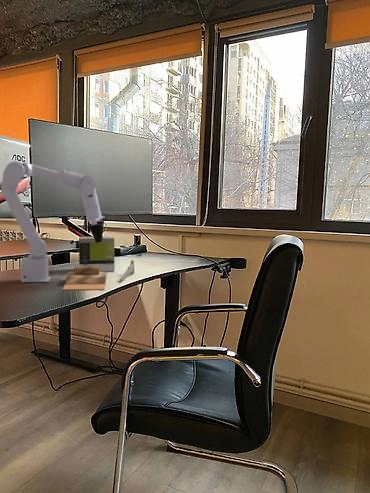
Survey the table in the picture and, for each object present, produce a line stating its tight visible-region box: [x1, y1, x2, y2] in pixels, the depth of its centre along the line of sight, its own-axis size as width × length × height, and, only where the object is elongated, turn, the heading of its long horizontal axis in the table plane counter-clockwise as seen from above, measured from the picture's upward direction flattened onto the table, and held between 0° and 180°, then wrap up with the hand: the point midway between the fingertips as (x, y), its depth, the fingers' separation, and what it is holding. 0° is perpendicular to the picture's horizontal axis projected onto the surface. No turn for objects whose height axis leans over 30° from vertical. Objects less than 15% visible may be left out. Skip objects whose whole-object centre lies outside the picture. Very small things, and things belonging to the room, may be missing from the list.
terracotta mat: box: [61, 283, 106, 291], centre depth 139 cm, size 14×9×1 cm, turn 99°
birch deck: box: [65, 271, 107, 285], centre depth 148 cm, size 14×10×3 cm
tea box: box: [78, 236, 115, 272], centre depth 174 cm, size 15×10×15 cm
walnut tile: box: [73, 265, 100, 275], centre depth 149 cm, size 9×6×2 cm, turn 99°
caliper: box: [118, 259, 135, 284], centre depth 158 cm, size 20×1×6 cm, turn 173°
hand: (99, 240), depth 156 cm, fingers open, 7 cm apart
